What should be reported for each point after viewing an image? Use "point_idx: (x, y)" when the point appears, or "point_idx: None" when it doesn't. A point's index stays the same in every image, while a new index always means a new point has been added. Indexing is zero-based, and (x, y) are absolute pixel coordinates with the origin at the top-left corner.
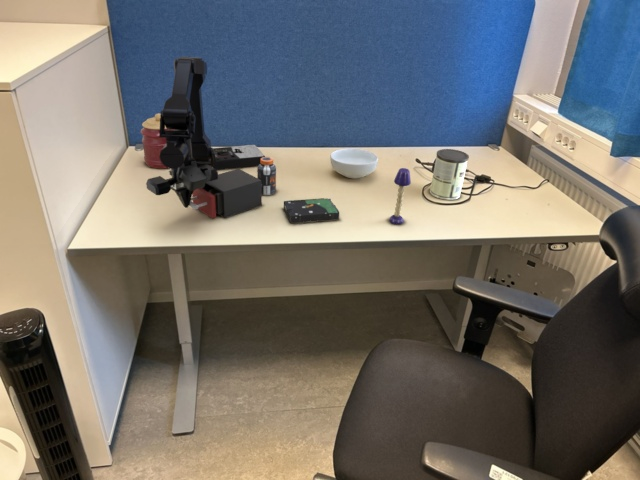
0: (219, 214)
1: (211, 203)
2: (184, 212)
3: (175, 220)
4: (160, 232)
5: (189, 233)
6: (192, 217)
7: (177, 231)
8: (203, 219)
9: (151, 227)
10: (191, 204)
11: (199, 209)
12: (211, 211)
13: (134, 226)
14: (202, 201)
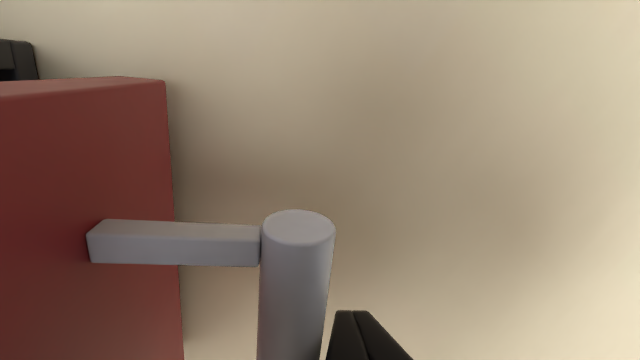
0: None
1: (19, 100)
2: None
3: (393, 278)
4: (572, 204)
5: (470, 39)
6: None
7: (499, 138)
8: (227, 165)
9: (549, 288)
10: (320, 312)
11: (178, 293)
12: (128, 102)
13: (586, 346)
14: (119, 324)
